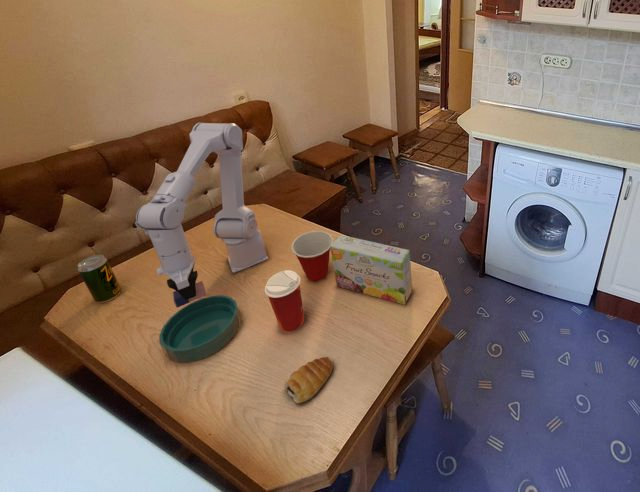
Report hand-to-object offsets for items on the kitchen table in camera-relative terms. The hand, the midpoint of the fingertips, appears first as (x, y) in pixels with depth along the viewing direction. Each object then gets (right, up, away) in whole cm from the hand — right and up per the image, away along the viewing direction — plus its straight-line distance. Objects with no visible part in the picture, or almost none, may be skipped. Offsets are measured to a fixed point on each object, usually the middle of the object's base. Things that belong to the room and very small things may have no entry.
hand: (189, 292), depth 87 cm
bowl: (+4, -10, -1) cm, 11 cm away
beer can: (-29, -5, +9) cm, 31 cm away
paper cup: (+24, -9, +3) cm, 26 cm away
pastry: (+34, -15, -11) cm, 39 cm away
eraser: (0, -1, +1) cm, 2 cm away
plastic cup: (+24, -2, +18) cm, 30 cm away
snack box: (+42, -5, +13) cm, 44 cm away
